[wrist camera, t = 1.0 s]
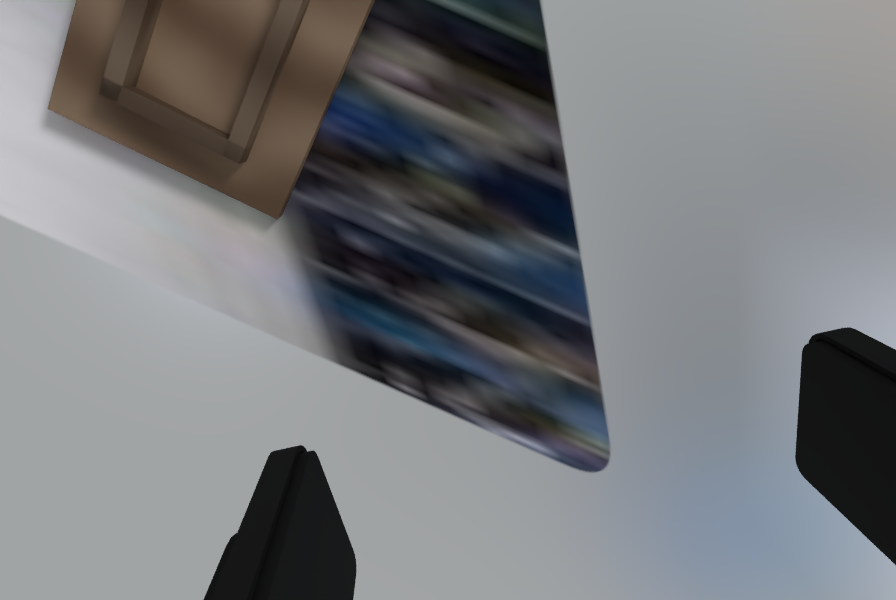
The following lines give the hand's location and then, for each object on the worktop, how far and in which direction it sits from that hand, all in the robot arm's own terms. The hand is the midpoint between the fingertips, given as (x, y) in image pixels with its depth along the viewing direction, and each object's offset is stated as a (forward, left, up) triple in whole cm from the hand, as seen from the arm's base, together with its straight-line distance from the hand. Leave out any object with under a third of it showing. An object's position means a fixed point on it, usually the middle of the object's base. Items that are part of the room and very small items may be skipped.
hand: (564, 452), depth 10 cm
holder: (-3, -17, -26) cm, 31 cm away
